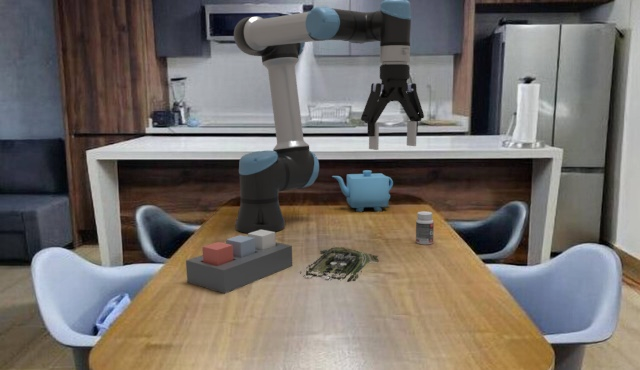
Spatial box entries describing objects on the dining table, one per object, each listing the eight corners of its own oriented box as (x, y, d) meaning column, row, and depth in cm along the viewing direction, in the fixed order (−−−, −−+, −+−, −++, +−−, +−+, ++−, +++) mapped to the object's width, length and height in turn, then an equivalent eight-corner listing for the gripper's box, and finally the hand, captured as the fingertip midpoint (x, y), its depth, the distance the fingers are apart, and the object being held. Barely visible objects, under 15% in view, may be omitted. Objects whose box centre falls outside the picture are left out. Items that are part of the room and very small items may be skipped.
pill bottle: (433, 245, 144) (434, 215, 143) (415, 244, 145) (416, 214, 144) (433, 240, 149) (433, 211, 148) (416, 239, 150) (416, 210, 149)
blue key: (226, 256, 123) (226, 239, 122) (241, 251, 126) (240, 235, 125) (241, 259, 120) (240, 242, 119) (255, 254, 123) (254, 238, 123)
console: (187, 281, 119) (186, 260, 118) (256, 257, 136) (255, 238, 135) (224, 293, 111) (223, 270, 111) (292, 265, 129) (291, 245, 128)
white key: (248, 249, 128) (247, 233, 127) (261, 245, 132) (261, 229, 131) (262, 252, 125) (262, 236, 125) (275, 248, 129) (275, 232, 128)
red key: (203, 264, 117) (202, 246, 116) (219, 259, 121) (218, 241, 120) (217, 268, 114) (216, 250, 114) (233, 262, 118) (232, 245, 117)
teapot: (389, 204, 198) (389, 167, 195) (396, 211, 187) (396, 172, 184) (330, 206, 196) (329, 169, 193) (333, 213, 185) (333, 173, 182)
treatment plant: (373, 286, 116) (373, 270, 115) (292, 282, 119) (292, 266, 118) (381, 253, 140) (381, 239, 139) (313, 250, 143) (313, 237, 143)
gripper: (367, 62, 125) (366, 152, 129) (439, 64, 140) (436, 145, 143) (347, 63, 131) (346, 149, 135) (417, 65, 146) (415, 143, 149)
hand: (393, 147), depth 139 cm, fingers open, 13 cm apart
